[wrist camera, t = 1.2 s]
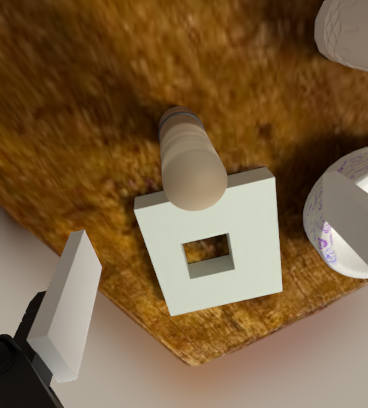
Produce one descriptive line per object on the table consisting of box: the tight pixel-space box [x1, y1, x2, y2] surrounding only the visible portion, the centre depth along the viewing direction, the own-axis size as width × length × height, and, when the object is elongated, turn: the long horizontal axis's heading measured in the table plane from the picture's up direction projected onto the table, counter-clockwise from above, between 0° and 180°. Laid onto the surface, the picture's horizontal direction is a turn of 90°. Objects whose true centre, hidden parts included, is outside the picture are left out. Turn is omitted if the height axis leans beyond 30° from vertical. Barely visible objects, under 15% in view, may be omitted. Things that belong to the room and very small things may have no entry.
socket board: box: [134, 167, 282, 316], centre depth 39 cm, size 18×16×3 cm
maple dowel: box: [158, 106, 228, 211], centre depth 26 cm, size 5×5×14 cm
